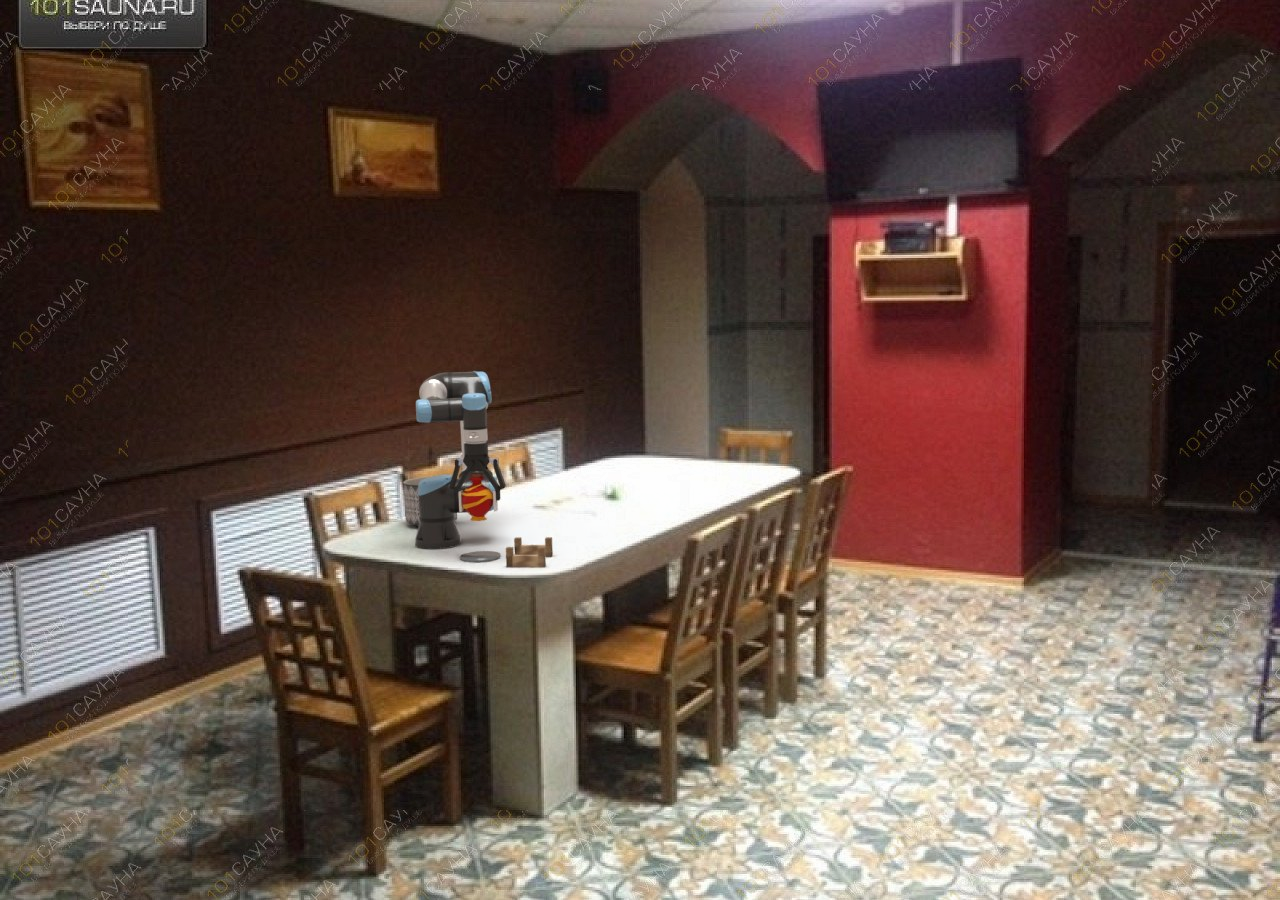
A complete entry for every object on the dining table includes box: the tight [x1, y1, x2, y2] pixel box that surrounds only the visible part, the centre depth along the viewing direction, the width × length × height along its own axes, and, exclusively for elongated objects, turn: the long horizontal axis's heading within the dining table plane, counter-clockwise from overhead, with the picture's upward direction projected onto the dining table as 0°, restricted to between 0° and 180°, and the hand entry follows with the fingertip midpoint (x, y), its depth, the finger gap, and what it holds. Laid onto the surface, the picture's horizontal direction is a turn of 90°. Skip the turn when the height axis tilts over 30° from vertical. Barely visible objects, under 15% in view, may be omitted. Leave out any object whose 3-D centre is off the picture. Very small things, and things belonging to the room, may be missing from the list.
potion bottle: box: [462, 472, 493, 522], centre depth 373 cm, size 10×10×15 cm
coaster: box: [459, 550, 502, 563], centre depth 375 cm, size 13×13×1 cm
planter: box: [402, 476, 458, 527], centre depth 430 cm, size 19×19×16 cm
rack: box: [505, 536, 554, 568], centre depth 369 cm, size 12×16×6 cm
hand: (478, 510), depth 373 cm, fingers closed on potion bottle, 10 cm apart
